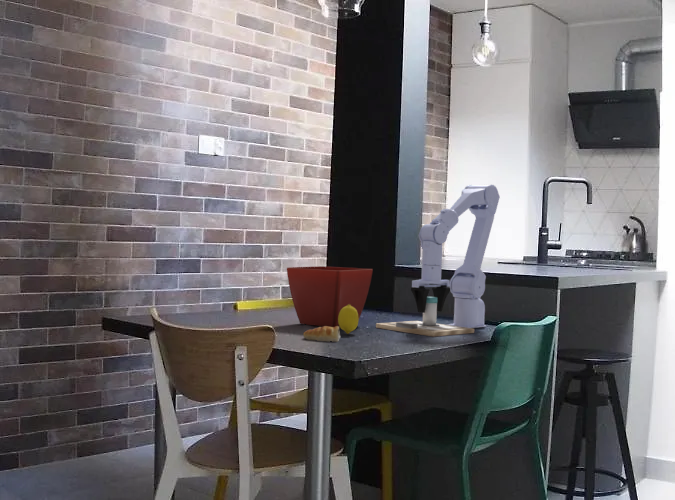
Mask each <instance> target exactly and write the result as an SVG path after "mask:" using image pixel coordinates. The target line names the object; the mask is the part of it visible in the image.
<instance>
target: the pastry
mask: <svg viewBox="0 0 675 500" xmlns="http://www.w3.org/2000/svg"><path fill="white" fill-rule="evenodd" d="M303 338H304V339H305V340H307V341H315V340H317V342H330V341H332V342H333V343H334V342H335V343H337V342H339V341H340V339H341V332H340V327H338V326H335V327H328V326H318V327H315V328H313V329H307V330H306V331H304V332H303Z"/></svg>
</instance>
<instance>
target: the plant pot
mask: <svg viewBox="0 0 675 500" xmlns="http://www.w3.org/2000/svg"><path fill="white" fill-rule="evenodd" d="M286 274H287V280H288V286H289V291H290V295H291V300H292V304H293V307H294V310H295V313H296V316H297V318H298V322H299V324H300V325H305V324H306V325H309V326H316V327H317V326H318V327H324V326H328V327H335V326H338V327H339V328H340V326H339V323H338V316H339V313H340V311H341V309H342V308H343V307H345V306H347V305H351V306H352V307H354V308H355V309H356V310H357V312H358V317H359V319H360V318H361V315H362V312H363V310H364V307H365V304H366V301H367V297H368V294H369V290H370V287H371V282H372V276H373V268H360V267H359V268H358V267H342V266H341V267H340V266H323V265H322V266H318V265H317V266H291V267H286Z"/></svg>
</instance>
